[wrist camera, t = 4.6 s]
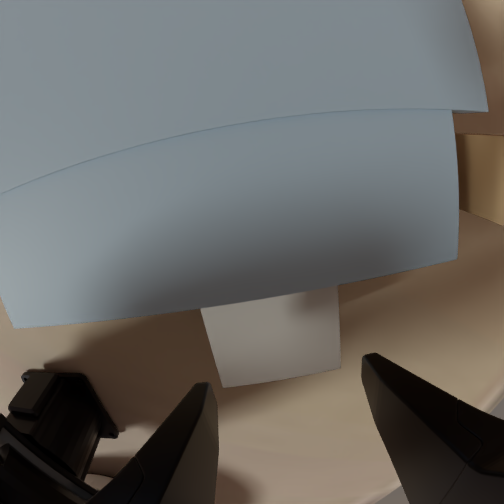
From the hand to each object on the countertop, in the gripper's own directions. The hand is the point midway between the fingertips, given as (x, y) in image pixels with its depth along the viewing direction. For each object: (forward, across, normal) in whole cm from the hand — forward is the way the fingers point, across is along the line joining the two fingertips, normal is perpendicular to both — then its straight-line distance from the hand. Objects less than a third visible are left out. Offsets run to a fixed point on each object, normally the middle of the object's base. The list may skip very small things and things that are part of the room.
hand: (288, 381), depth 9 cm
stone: (+8, 0, 0) cm, 8 cm away
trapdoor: (+1, +1, -10) cm, 11 cm away
